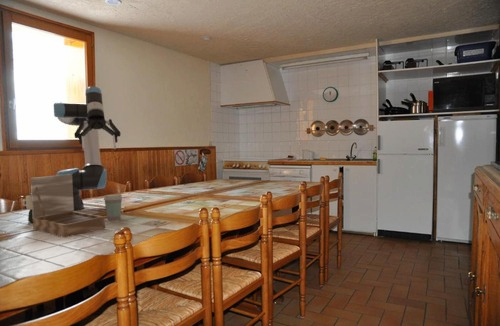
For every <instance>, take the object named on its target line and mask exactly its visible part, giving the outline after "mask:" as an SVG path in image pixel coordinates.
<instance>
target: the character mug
mask: <svg viewBox="0 0 500 326" xmlns="http://www.w3.org/2000/svg"><path fill="white" fill-rule="evenodd" d="M22 206H23V207H26V209H27V210H29V212H28V216H27V222H30V223H33V216H32V198H31V194H29V195H26V196H25V198H24V199H22Z"/></svg>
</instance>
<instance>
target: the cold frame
mask: <svg viewBox="0 0 500 326" xmlns="http://www.w3.org/2000/svg"><path fill="white" fill-rule="evenodd" d="M29 180H30V193H31V194H30V195H31V198H32V216H33V222H32V229H33V230H34V229H35V231H39V232H42V233H45V234H49V233H50V235H53V234H54V236H57V235H58V237H61V236H62V237H61V238H69V237H72V235H73V236H76V235H82V234H84V233H85V234H86V233H89V232H93V231H97V230H101V229H105V228H106V221H105V219H106V218H105V216H104V215H97V214H92V213H87V212H82V211H81V212H80V211H77V210H74V205H73V184H72V174H69V175H58V176H56V175H49V176H48V175H47V176H39V177H38V176H37V177H30V179H29ZM68 236H69V237H68Z"/></svg>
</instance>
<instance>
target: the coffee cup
mask: <svg viewBox="0 0 500 326" xmlns="http://www.w3.org/2000/svg"><path fill="white" fill-rule="evenodd" d="M103 200H104V205H105V206H104V207H105V211H106V216H107V217H106V218H107V220H108V221H118V220H121V214H122V213H121V211H122V200H123V197H122V194H120V193H112V194H106V195H104V198H103Z"/></svg>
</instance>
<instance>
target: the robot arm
mask: <svg viewBox="0 0 500 326" xmlns="http://www.w3.org/2000/svg"><path fill="white" fill-rule="evenodd" d="M53 116H54V117H55V118H57V119H58V121H60V122H61V123H63V124H65V125H69V126H78V127H77V129H76V131H75V132H74V133H73V134H74V136H73V137H74V138H75V139H78V143H79V145H81V147H82V152H83V151H84V152H83V153H84V166H82V169H81V170H80V168H78V167H75V168H68V169H62V170H59V171H57V172H56V175H55V176H58V175H69V174H72V184H73V205H74V211H79V210H82V209H84V208H85V203H84V201H83V199H82V197H81V191H86V190H87V191H88V190H99V189H101V190H102V189H104V188H106V186H107V185H106V184H107V176H108V175H107V174H108V171H107V170H108V169H106V168H105V167H104V165H102V162H101V161H102V160H101V153H100V152H101V151H100V142H99V141H100V139H99V130H103V131H105V132H106V133H108V134H109V135H110V136H112V143H113V150H116V149H117V144H116V143H118V137H121V131H120V130H119V128H118V127H116V125H115V124H114V123H113V120H112V118H111V119H110V118H109V119H108V120H106V119H105V112H104V104H103V94H102V90H101V89H100V88H99V87H98V86H88V87H87V88H86V89H85V103H80V102H79V103H74V102H62V101H60V102H54V103H53Z"/></svg>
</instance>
